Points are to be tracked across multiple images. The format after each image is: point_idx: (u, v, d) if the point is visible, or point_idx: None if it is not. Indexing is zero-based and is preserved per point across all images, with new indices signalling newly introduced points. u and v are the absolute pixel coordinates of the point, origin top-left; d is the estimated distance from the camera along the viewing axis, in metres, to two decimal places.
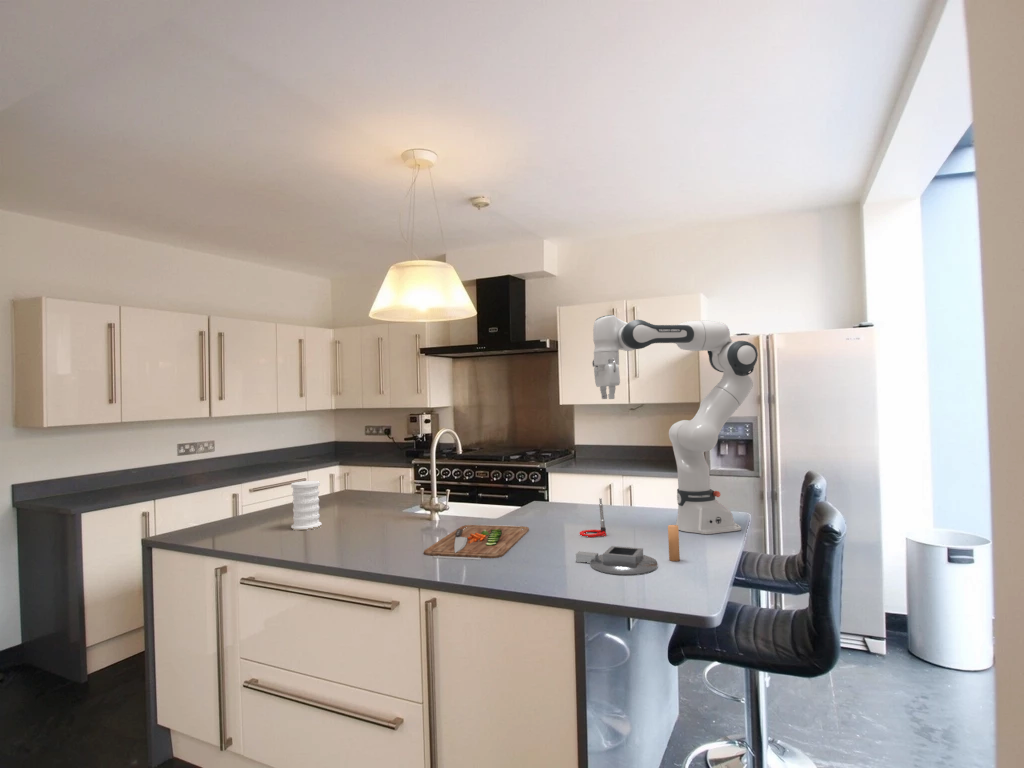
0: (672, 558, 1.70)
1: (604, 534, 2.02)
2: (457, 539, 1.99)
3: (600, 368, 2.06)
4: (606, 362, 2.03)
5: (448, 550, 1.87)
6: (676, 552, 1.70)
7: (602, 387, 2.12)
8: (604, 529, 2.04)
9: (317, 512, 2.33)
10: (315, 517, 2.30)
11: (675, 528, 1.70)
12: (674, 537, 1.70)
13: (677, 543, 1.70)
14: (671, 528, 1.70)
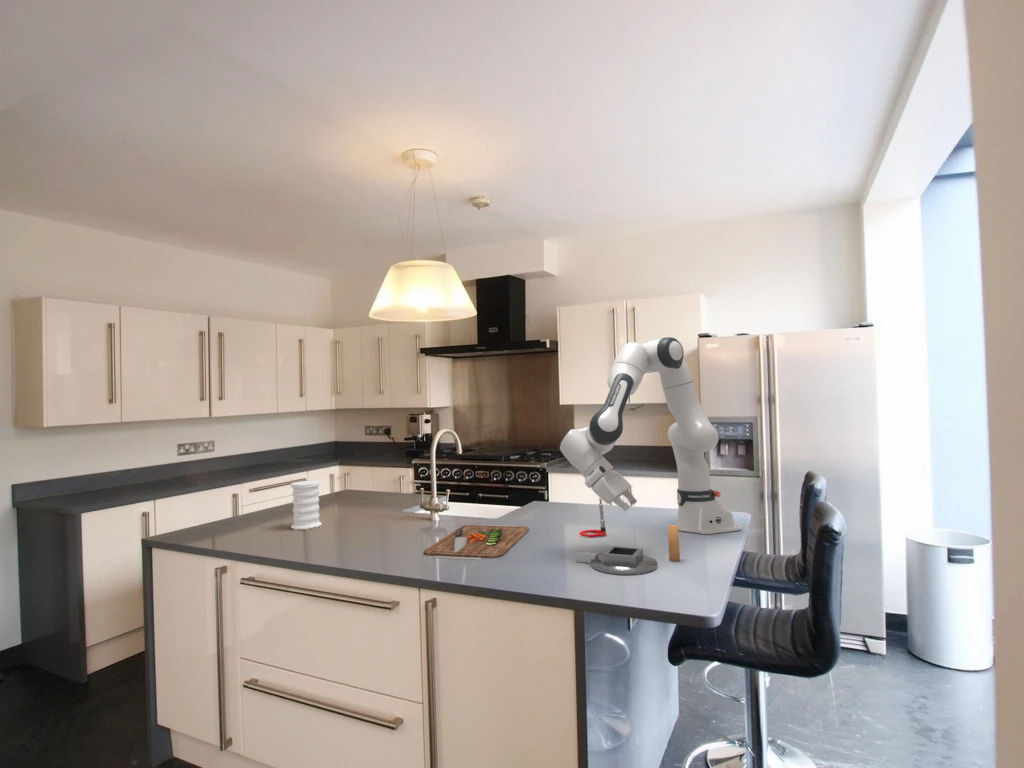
0: (672, 558, 1.70)
1: (604, 534, 2.02)
2: (457, 539, 1.99)
3: None
4: None
5: (448, 550, 1.87)
6: (676, 552, 1.70)
7: None
8: (604, 529, 2.04)
9: (317, 512, 2.33)
10: (315, 517, 2.30)
11: (675, 528, 1.70)
12: (674, 537, 1.70)
13: (677, 543, 1.70)
14: (671, 528, 1.70)
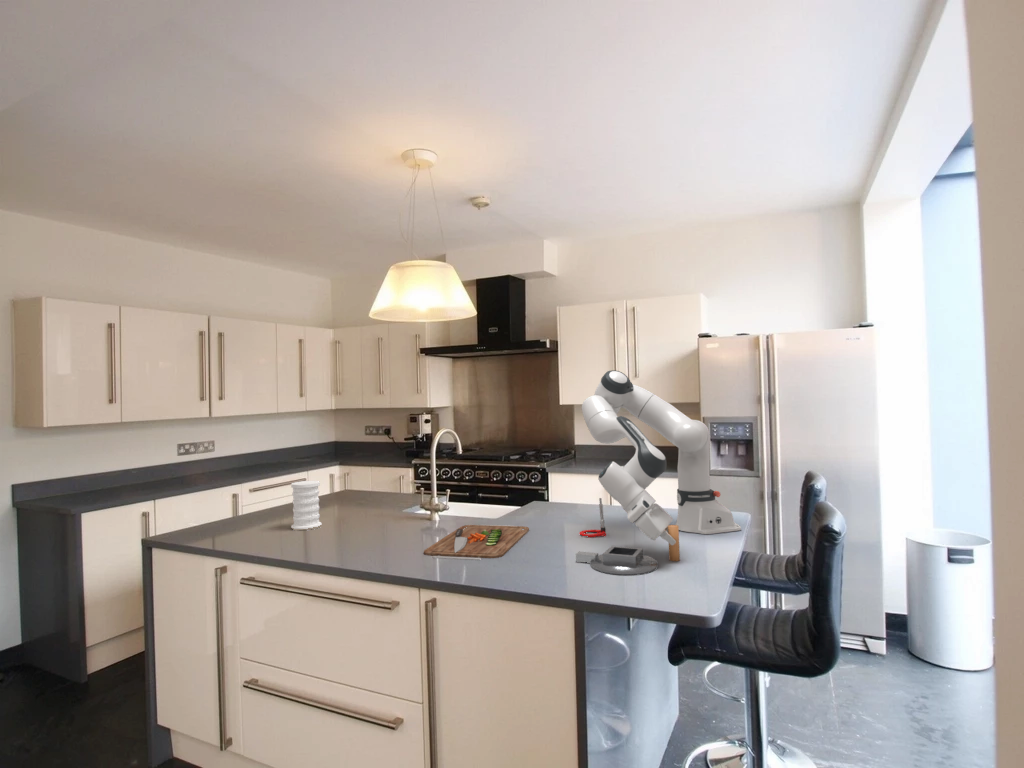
0: (672, 558, 1.70)
1: (604, 534, 2.02)
2: (457, 539, 1.99)
3: None
4: None
5: (448, 550, 1.87)
6: (676, 552, 1.70)
7: None
8: (604, 529, 2.04)
9: (317, 512, 2.33)
10: (315, 517, 2.30)
11: (675, 528, 1.70)
12: (674, 537, 1.70)
13: (677, 543, 1.70)
14: (671, 528, 1.70)
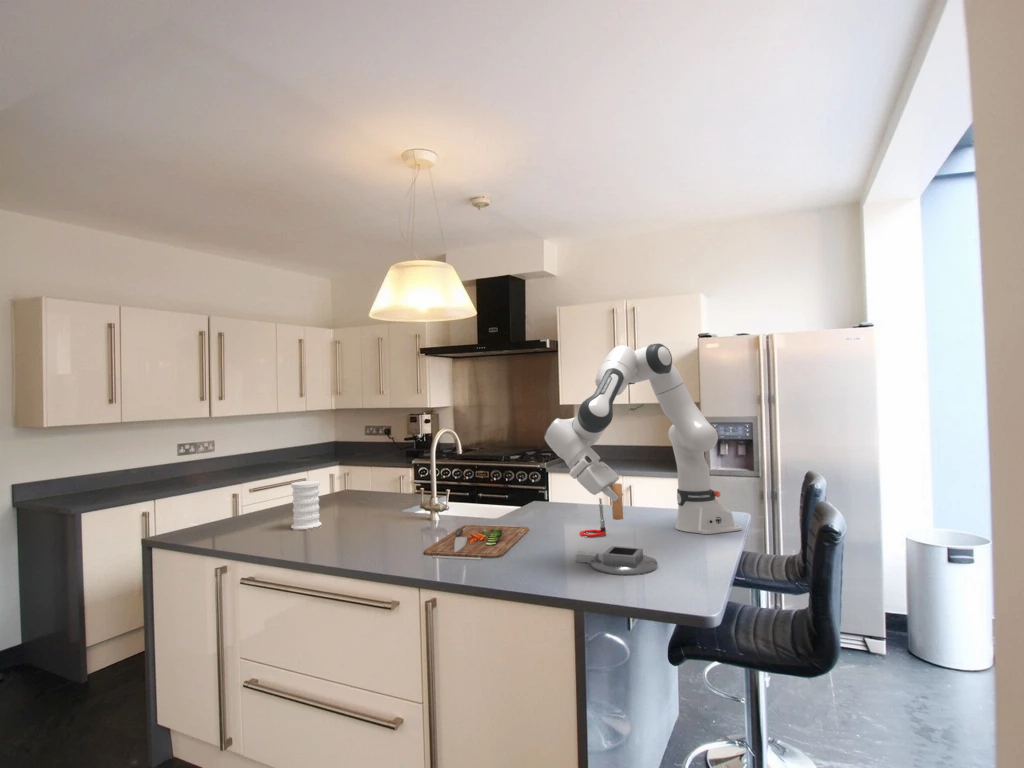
0: (615, 516, 1.67)
1: (604, 534, 2.02)
2: (457, 539, 1.99)
3: None
4: None
5: (448, 550, 1.87)
6: (619, 511, 1.67)
7: None
8: (604, 529, 2.04)
9: (317, 512, 2.33)
10: (315, 517, 2.30)
11: (618, 486, 1.67)
12: None
13: (620, 501, 1.67)
14: (614, 486, 1.67)
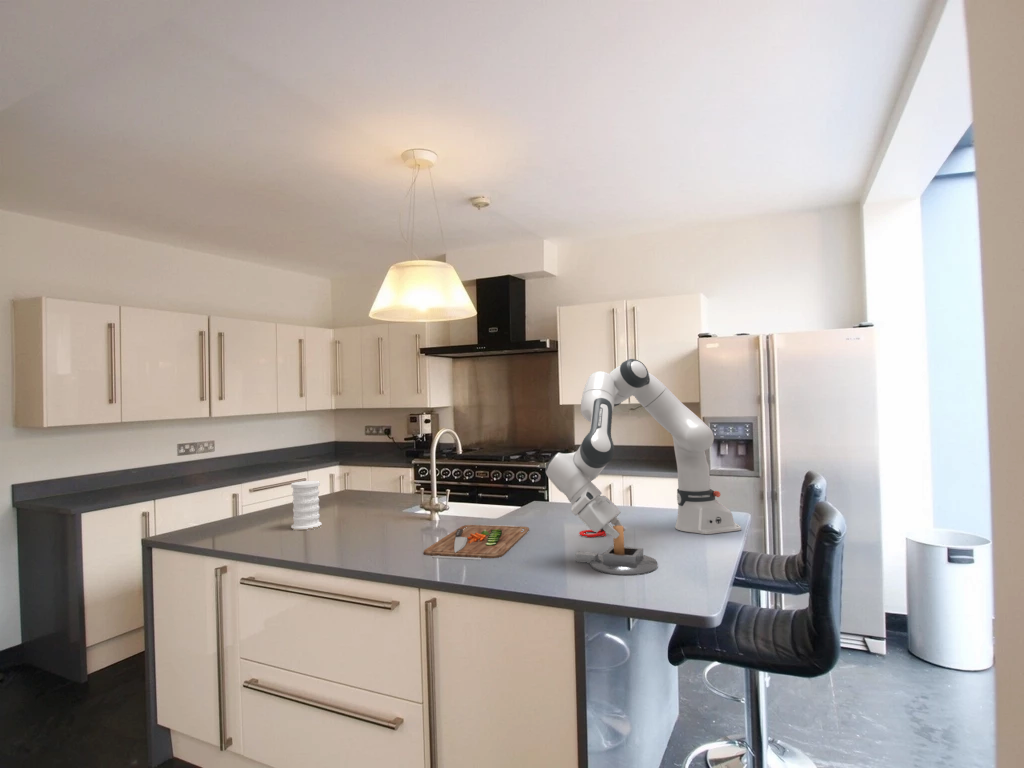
0: None
1: (604, 534, 2.02)
2: (457, 539, 1.99)
3: None
4: None
5: (448, 550, 1.87)
6: (620, 553, 1.67)
7: None
8: None
9: (317, 512, 2.33)
10: (315, 517, 2.30)
11: (619, 528, 1.67)
12: (619, 538, 1.67)
13: (622, 544, 1.67)
14: (616, 528, 1.67)
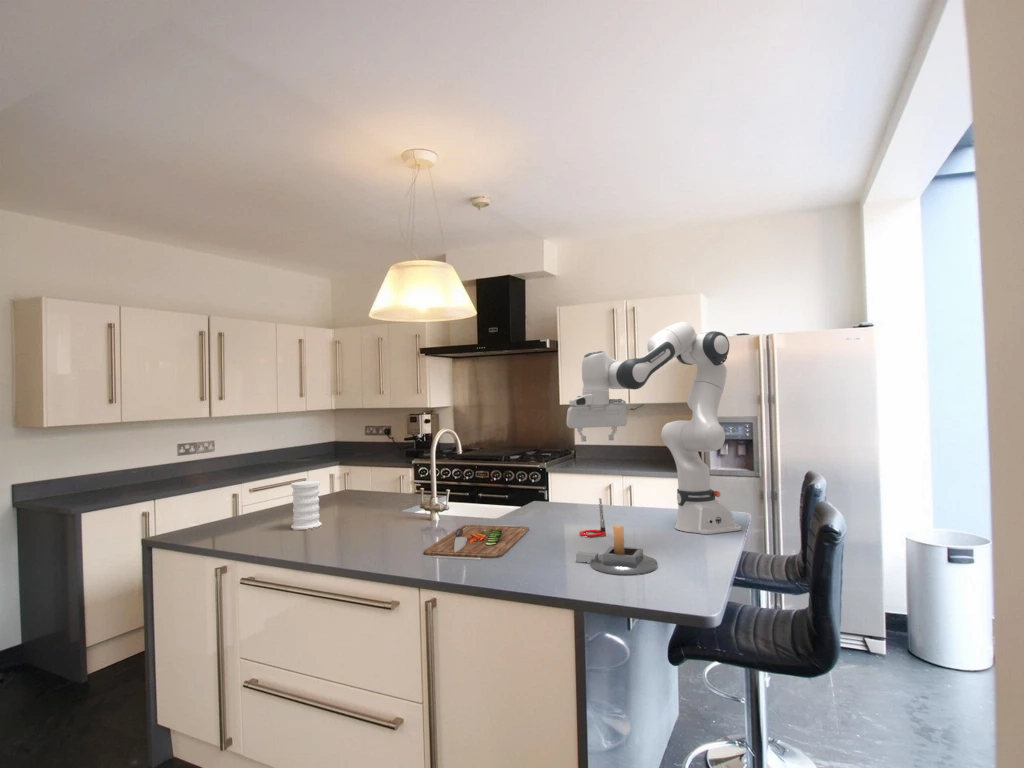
0: None
1: (604, 534, 2.02)
2: (457, 539, 2.00)
3: (602, 408, 1.92)
4: (609, 401, 1.94)
5: (448, 550, 1.87)
6: None
7: None
8: (604, 529, 2.04)
9: (317, 512, 2.33)
10: (315, 517, 2.30)
11: (620, 529, 1.67)
12: (619, 538, 1.67)
13: (622, 544, 1.67)
14: (616, 529, 1.67)
